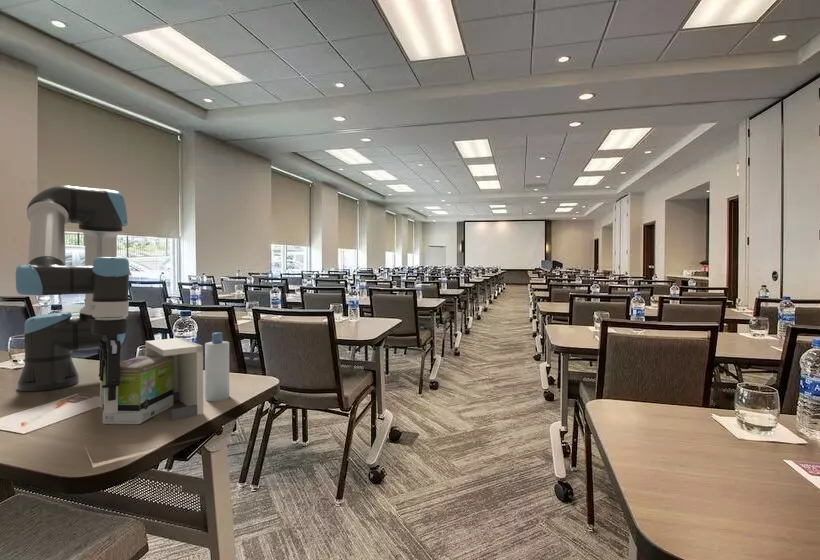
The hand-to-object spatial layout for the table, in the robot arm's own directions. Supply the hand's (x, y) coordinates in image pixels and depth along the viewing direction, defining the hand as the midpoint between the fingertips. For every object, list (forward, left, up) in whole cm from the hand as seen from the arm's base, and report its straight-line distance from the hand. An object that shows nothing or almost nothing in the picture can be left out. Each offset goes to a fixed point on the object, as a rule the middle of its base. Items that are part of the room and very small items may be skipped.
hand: (108, 409), depth 108 cm
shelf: (0, +14, -4) cm, 15 cm away
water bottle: (-2, +27, -4) cm, 28 cm away
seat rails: (0, +14, -4) cm, 15 cm away
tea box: (-2, +7, -4) cm, 8 cm away
